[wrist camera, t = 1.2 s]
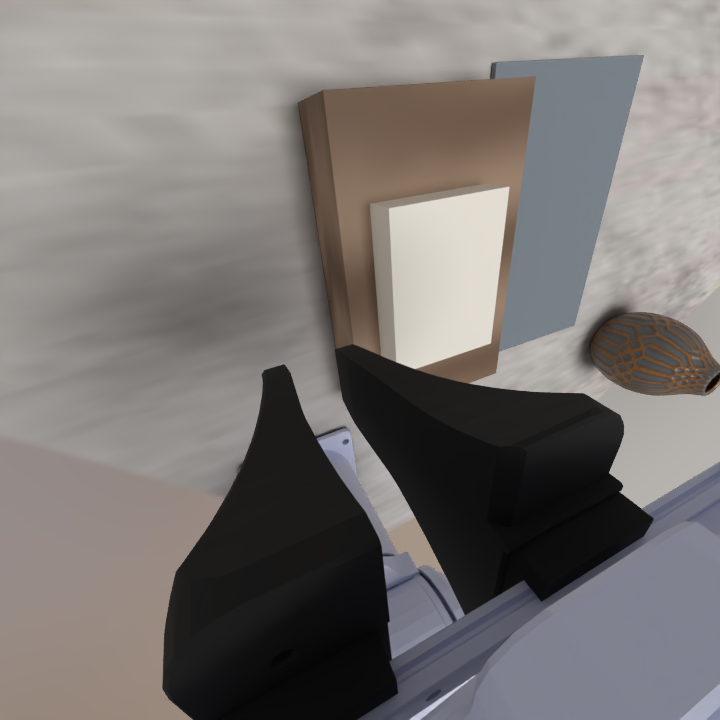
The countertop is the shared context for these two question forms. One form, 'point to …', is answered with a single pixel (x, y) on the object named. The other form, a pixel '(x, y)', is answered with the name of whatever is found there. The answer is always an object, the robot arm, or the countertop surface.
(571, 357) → the countertop surface
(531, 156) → the mat
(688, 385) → the vase
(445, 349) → the tile
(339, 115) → the block
